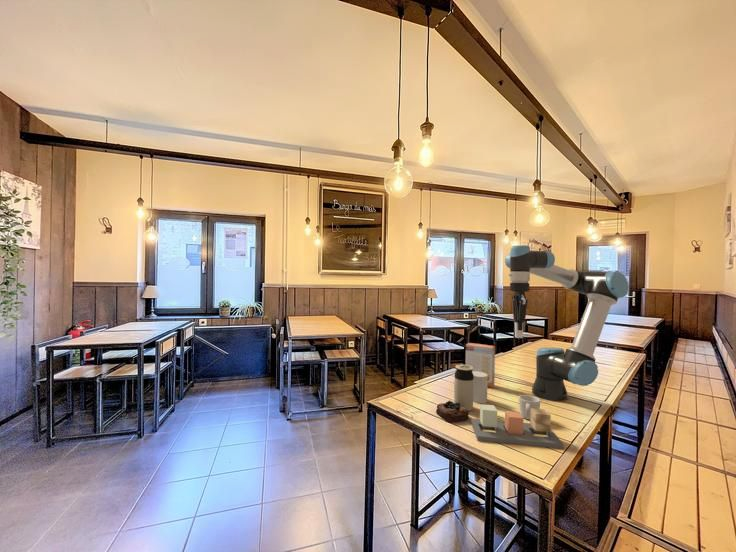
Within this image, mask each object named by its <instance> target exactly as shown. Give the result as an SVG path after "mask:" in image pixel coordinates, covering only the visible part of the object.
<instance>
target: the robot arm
mask: <svg viewBox="0 0 736 552" xmlns="http://www.w3.org/2000/svg"><path fill="white" fill-rule="evenodd" d="M555 261H556V257H555V254H554V253H553V252H552V251H548V250H531V246H529V245H525V244H523V245H521V244H520V245H512V246H511V248H510V253H508V254H507V255H506V256H505V260H504V263H505V265H506V267H507V268H509V274H508V277H509V280H510V283H509V291H510V292H514V293H513V294H514V295H513V297H511V300H512V301H511V302H512V312H513V313H512V315H513V320H514V323H515V324H514V337H515V338H516V339H524V322H526V316H527V306H528V301H529V300H528V299H527V296H526V293H527V292H528V293H529V292H530V282H531V279H530V278H531V277H530V276H531V275H534V276H537V277H539V278H543V279H546V280H548V281H552V282H554V283H557V284H560V285H561V286H562V287H563V288H565V289H568V290H571V291H574V292H576V293H579V294H582V295H586V297H587V299H588V301H587V304H586V307H585V309H584V312H583V314H582V316H581V321H580V322H579V326H578V328H577V331H576V334H575V336H574V339H573V341H572V344H571V346H570V347H567V348H566V349H565V350H564V349H563V348H560V347H538V349H537V350H536V358H535V359H536V361H535V363H536V365H535V366H536V373H535V375H536V376H535V379H534V382H533V385H532V387H531V393H532V394H533V396H534V395H535V397H537V398H541V399H544V400H550V401H555V402H557V401H559V402H560V401H566V400H567V399H568V392H567V388H566V384H565V382H564V381H566V382H569V383H571V384H573V385H578V386H582V387H585V386H589V385H591V384H592V383H593V382H595V381H596V379H597V377H598V375H599V367H598V364H597V363H596V357H595V356H594V353H595V350H596V348H597V345H598V342H599V339H600V337H601V334H602V331H603V329H604V327H605V326H604V325H605V323H606V320H607V317H608V315H609V312H610V309H611V307H612V306H613V305H616V304H618V303H617V302H618V300H619V299H620V298H624V297H625V296H627V295H628V293H629V286H630V285H629V282H628V279H627V277H626V276H625V275H624V274H623V273H622V272H620V271H613V270H608V271H605V270H604V271H595V270H593V271H589V270H586V271H585V270H584V271H583V270H576V269H573V268H571V269H567V268H564V267H561V266H559V265H555Z"/></svg>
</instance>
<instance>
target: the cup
mask: <svg viewBox="0 0 736 552" xmlns="http://www.w3.org/2000/svg"><path fill="white" fill-rule="evenodd" d="M541 401H542V400H541V399H540V397H538V396H536V395H535V396H534V395H530V394H520V395H519V396H518V402H519V404H518V405H519V413H520V414H521V415H522V417H523V418H524V419H526V420H529V421H530V419H531V408H535V409H541Z"/></svg>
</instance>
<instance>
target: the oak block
mask: <svg viewBox="0 0 736 552" xmlns="http://www.w3.org/2000/svg"><path fill="white" fill-rule="evenodd" d="M551 418H552V416H551V414H550V413H549V411H547V410H546V409H545V408H540V409H535V408H531V419H530V420H529V421H530V422H529V423H530V424H531V426H532V427H533V428H534V430H535V431H544V432H550V429H551V420H552V419H551Z"/></svg>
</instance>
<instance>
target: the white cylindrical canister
mask: <svg viewBox="0 0 736 552" xmlns="http://www.w3.org/2000/svg"><path fill="white" fill-rule="evenodd" d="M472 373H473V375H474V383H473V403H476V404H485V403H487V402H488V387H487V379H488V375H487V374H486V373H483V372H478V371H473V372H472Z"/></svg>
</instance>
